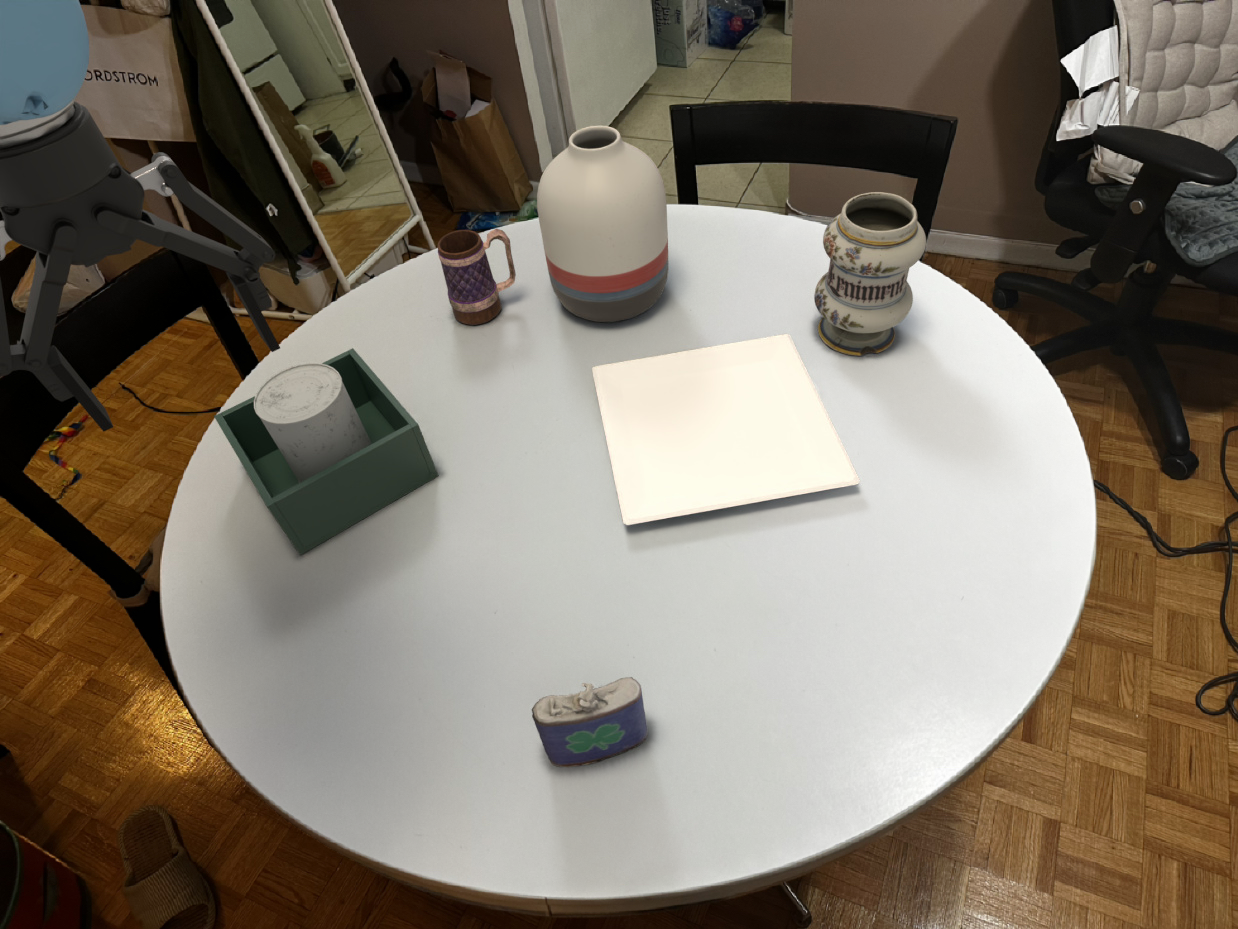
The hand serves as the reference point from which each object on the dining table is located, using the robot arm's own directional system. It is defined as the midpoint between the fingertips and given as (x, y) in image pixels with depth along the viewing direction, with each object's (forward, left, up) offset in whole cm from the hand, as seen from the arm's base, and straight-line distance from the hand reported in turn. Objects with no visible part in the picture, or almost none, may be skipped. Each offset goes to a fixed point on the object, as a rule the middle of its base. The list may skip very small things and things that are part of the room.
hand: (191, 380), depth 63 cm
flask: (+12, -34, -29) cm, 46 cm away
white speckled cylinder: (+8, +13, -28) cm, 32 cm away
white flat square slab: (+46, -12, -29) cm, 56 cm away
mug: (+38, +28, -29) cm, 55 cm away
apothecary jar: (+72, -11, -29) cm, 78 cm away
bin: (+8, +13, -29) cm, 33 cm away
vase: (+53, +18, -29) cm, 63 cm away
